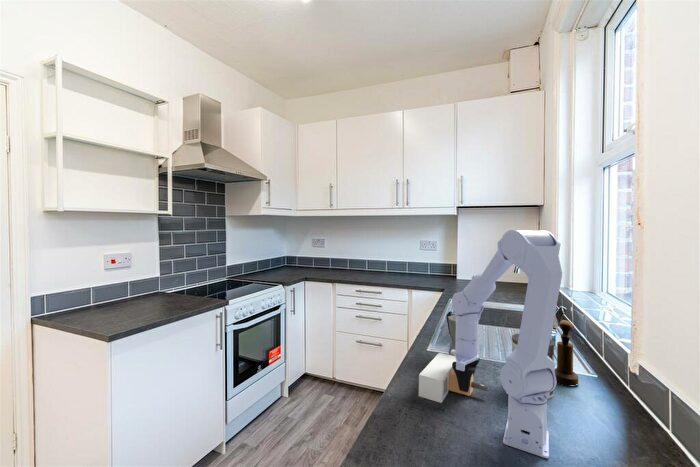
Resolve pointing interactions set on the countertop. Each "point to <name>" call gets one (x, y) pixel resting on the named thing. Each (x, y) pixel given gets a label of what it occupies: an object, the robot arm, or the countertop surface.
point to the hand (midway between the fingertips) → (465, 387)
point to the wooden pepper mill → (565, 357)
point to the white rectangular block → (436, 378)
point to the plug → (455, 387)
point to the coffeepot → (452, 330)
